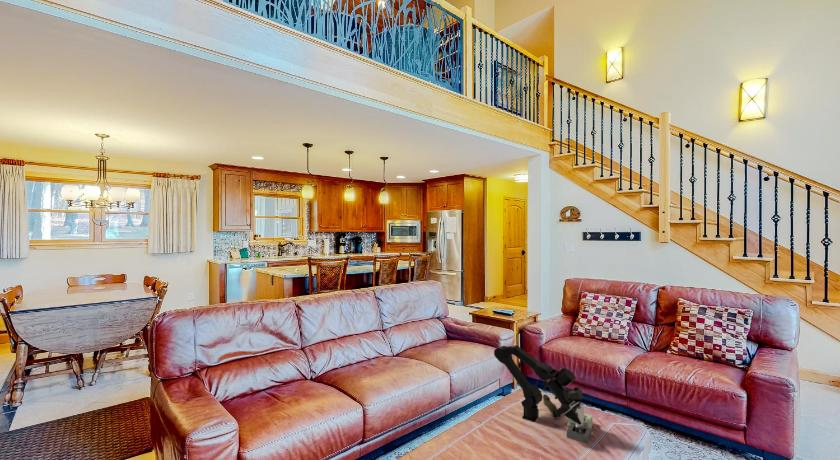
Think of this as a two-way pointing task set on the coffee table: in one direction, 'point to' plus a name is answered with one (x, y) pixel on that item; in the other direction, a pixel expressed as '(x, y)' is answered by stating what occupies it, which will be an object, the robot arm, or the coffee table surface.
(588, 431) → the socket
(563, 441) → the coffee table surface
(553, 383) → the robot arm
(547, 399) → the hand tool
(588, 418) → the container
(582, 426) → the grey cylinder
